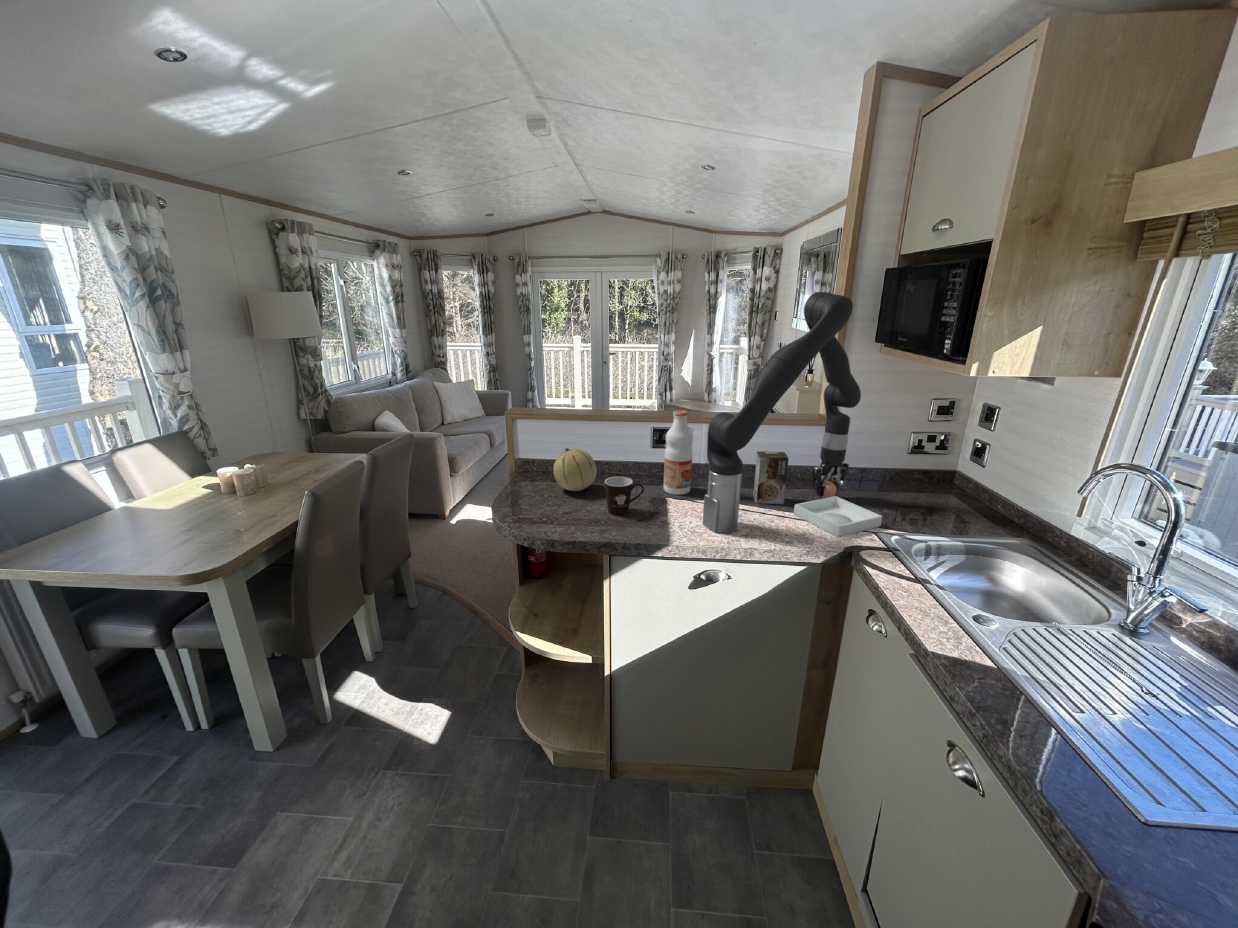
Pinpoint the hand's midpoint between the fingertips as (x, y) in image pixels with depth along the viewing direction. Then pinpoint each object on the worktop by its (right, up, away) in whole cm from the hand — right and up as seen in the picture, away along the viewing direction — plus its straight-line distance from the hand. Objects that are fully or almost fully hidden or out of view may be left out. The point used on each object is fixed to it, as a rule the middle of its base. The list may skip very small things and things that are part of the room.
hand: (826, 494), depth 166 cm
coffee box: (-20, -2, -1) cm, 20 cm away
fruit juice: (-49, +1, +7) cm, 50 cm away
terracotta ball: (0, +2, 0) cm, 2 cm away
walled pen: (-4, -7, -16) cm, 18 cm away
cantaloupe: (-85, +1, +7) cm, 85 cm away
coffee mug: (-68, -5, -11) cm, 69 cm away
